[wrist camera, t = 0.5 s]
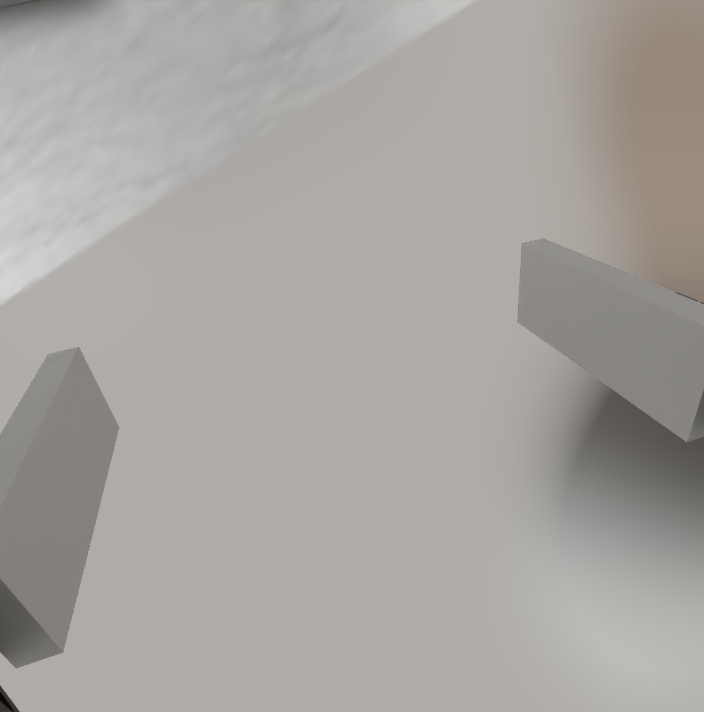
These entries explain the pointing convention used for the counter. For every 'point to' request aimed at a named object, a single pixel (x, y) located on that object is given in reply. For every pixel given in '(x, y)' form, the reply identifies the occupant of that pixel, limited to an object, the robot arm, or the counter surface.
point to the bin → (12, 2)
